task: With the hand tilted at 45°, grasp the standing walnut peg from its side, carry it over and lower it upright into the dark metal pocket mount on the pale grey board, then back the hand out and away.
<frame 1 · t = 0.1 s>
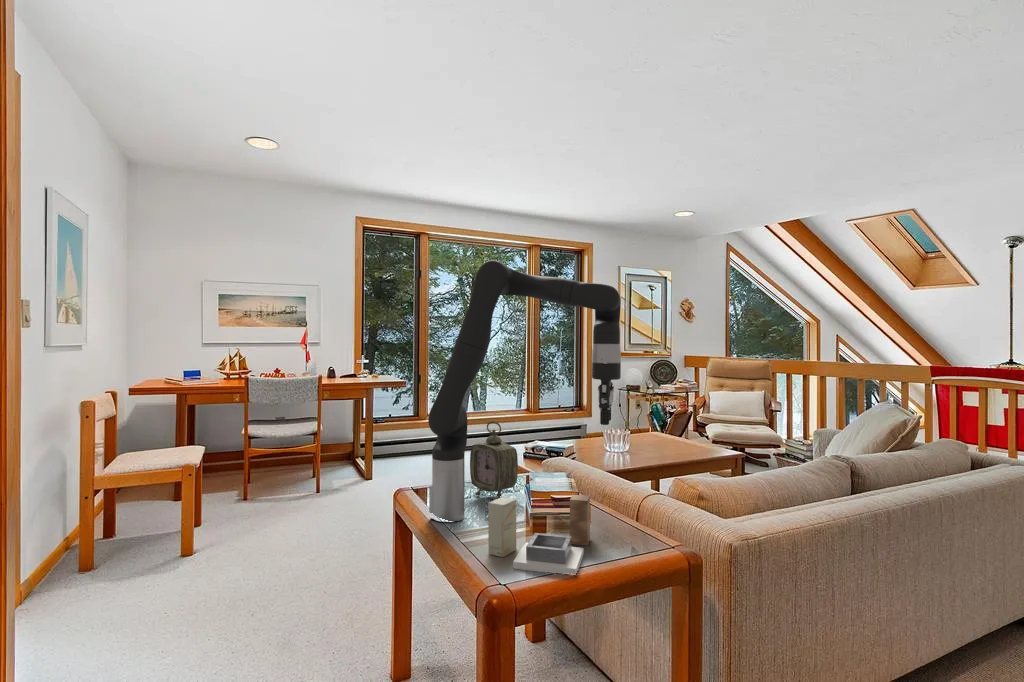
hand: (605, 422, 138), 29 cm above the table, tool pointing down, fingers open, 8 cm apart
skincare box: (502, 552, 124), on the table
tabletop clock: (494, 499, 168), on the table
walnut peg: (580, 541, 131), on the table
mount board: (549, 561, 119), on the table
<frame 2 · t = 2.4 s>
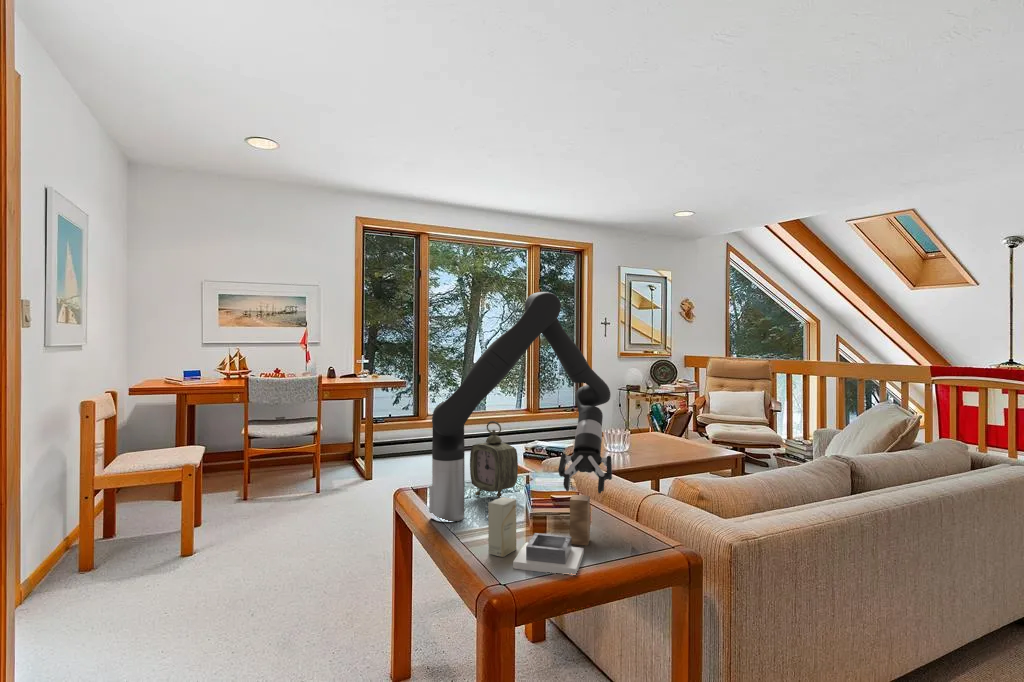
hand: (583, 490, 137), 11 cm above the table, tool tilted 45°, fingers open, 8 cm apart
nothing on the table moved.
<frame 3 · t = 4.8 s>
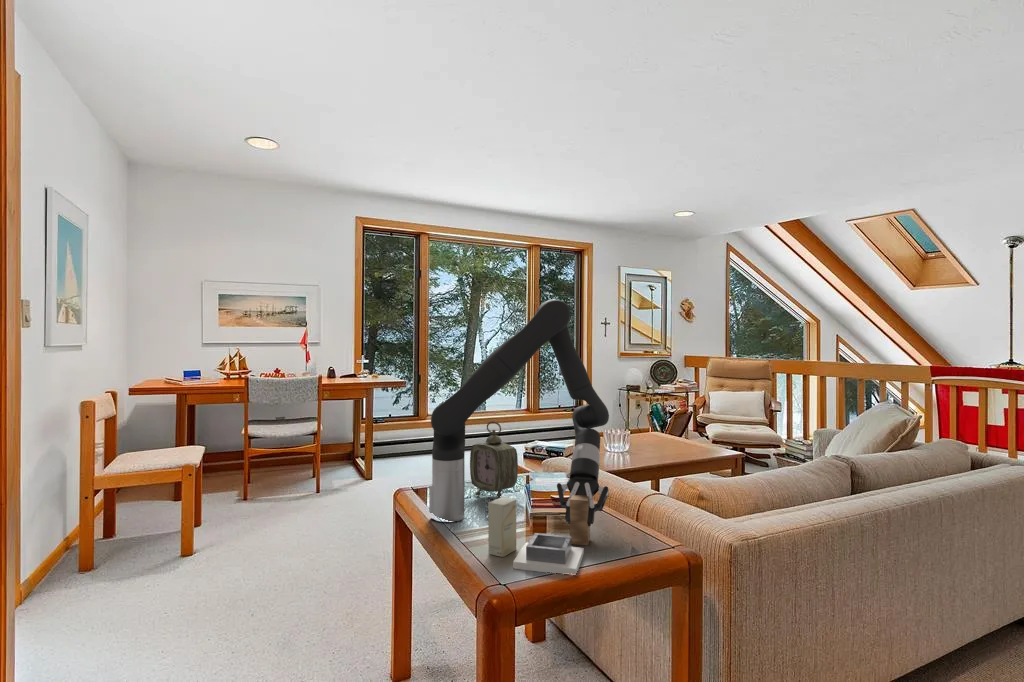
hand: (579, 523, 129), 5 cm above the table, tool tilted 45°, fingers closed on walnut peg, 4 cm apart
walnut peg: (580, 541, 131), on the table, touching gripper
everything else where it was.
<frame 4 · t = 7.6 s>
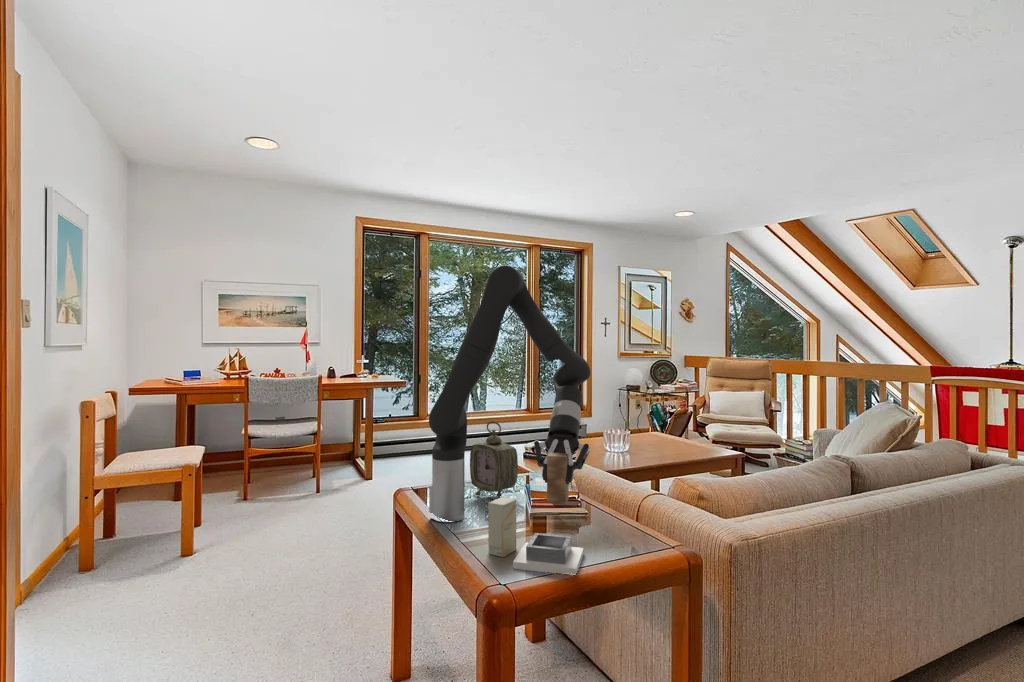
hand: (556, 481, 121), 18 cm above the table, tool tilted 45°, fingers closed on walnut peg, 4 cm apart
walnut peg: (557, 501, 122), point 13 cm above the table, touching gripper
everything else where it was.
when the fingers open (8 cm above the table, at t = 10.8 s): walnut peg drops 1 cm, resting on mount board.
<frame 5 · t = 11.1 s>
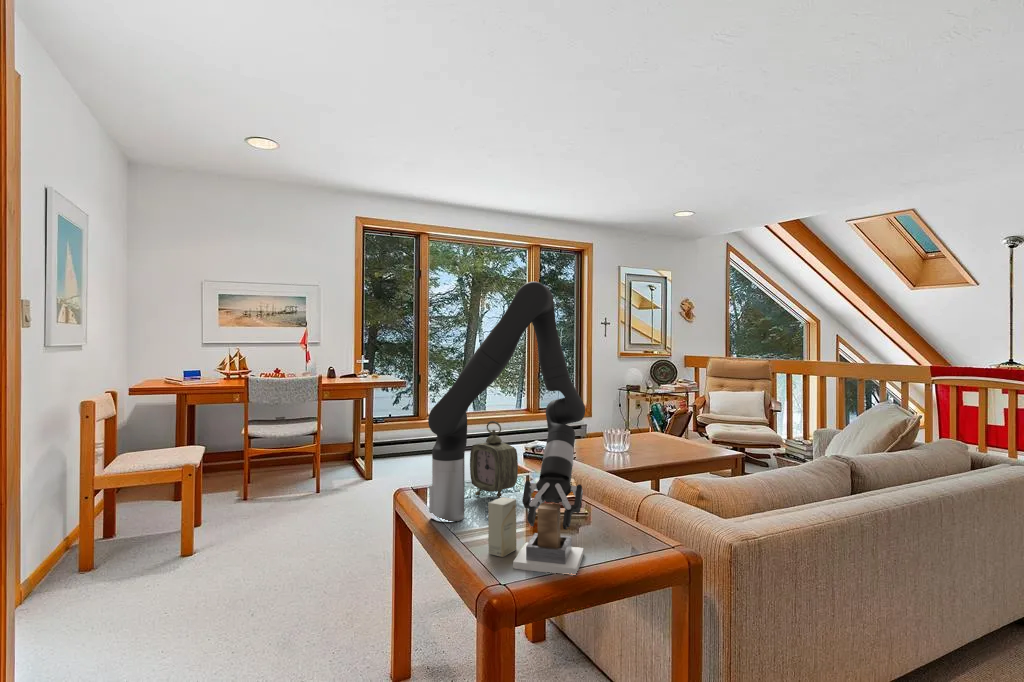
hand: (548, 526, 117), 8 cm above the table, tool tilted 45°, fingers open, 7 cm apart
walnut peg: (549, 554, 119), point 1 cm above the table, touching mount board
everything else where it was.
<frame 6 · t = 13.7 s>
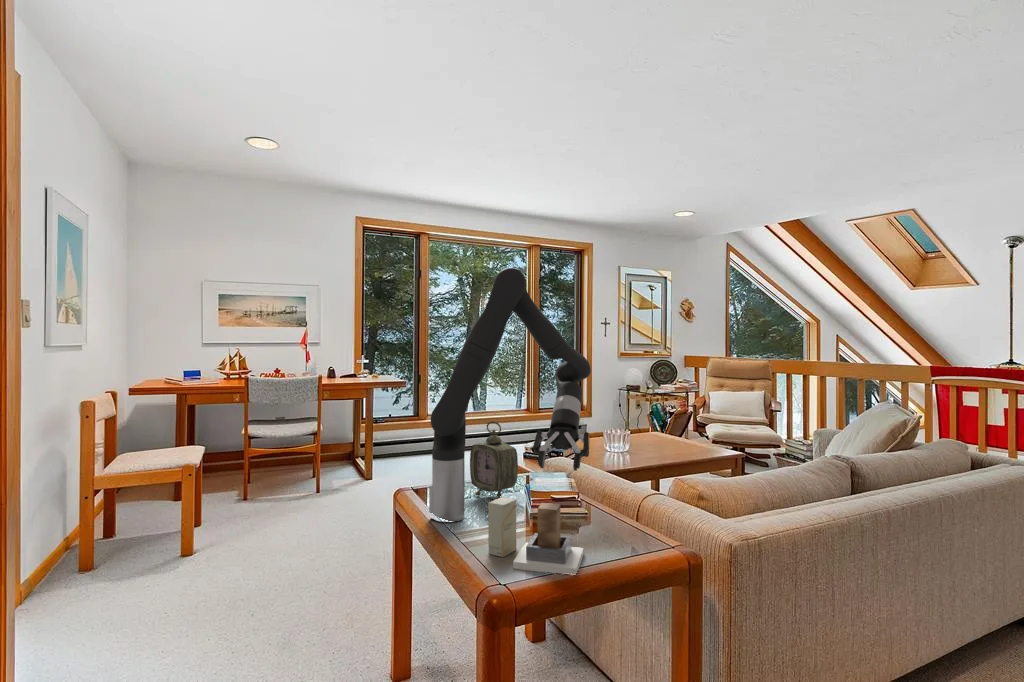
hand: (558, 467, 130), 19 cm above the table, tool tilted 45°, fingers open, 8 cm apart
nothing on the table moved.
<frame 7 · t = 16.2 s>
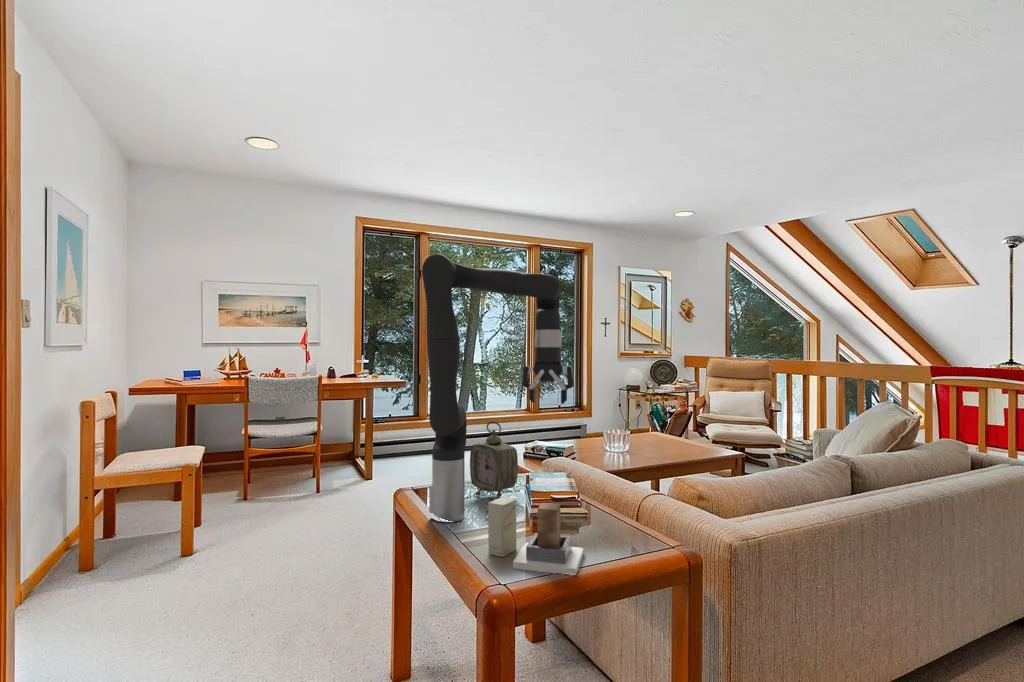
hand: (548, 402, 148), 33 cm above the table, tool pointing down, fingers open, 8 cm apart
nothing on the table moved.
at the end: walnut peg 0.1 cm off-centre on the mount board, point 1.5 cm above the mount board's base; walnut peg tilted 0°; the gripper is holding nothing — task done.
